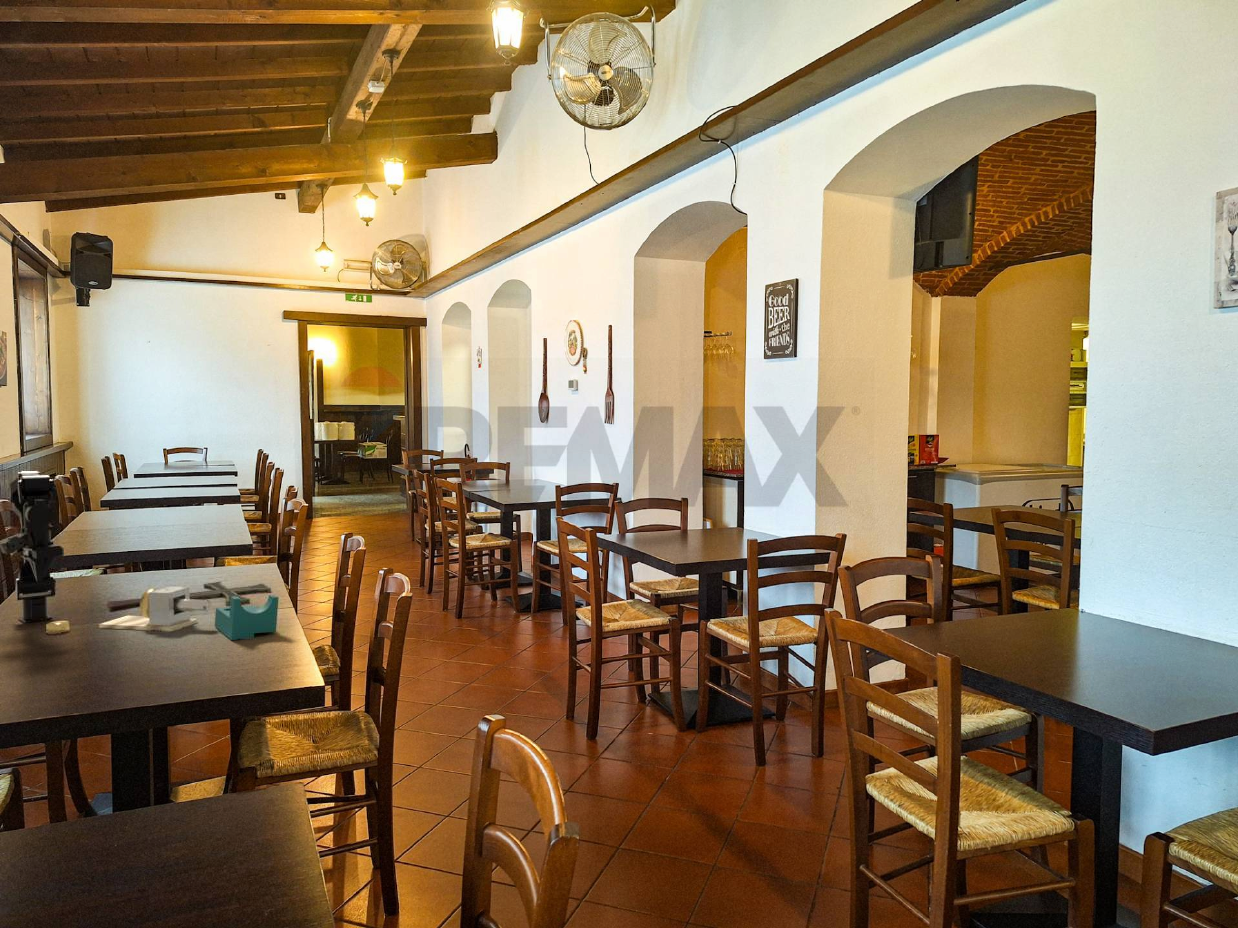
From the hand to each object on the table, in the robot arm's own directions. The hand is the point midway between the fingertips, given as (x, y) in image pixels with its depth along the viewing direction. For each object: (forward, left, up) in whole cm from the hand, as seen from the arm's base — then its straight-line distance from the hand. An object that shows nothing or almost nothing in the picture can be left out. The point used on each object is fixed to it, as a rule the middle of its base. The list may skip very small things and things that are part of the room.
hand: (39, 581), depth 223 cm
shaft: (+26, +24, -11) cm, 37 cm away
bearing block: (+23, +23, -12) cm, 35 cm away
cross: (-7, +43, -14) cm, 46 cm away
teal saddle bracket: (+44, +33, -13) cm, 57 cm away
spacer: (+6, +2, -13) cm, 15 cm away
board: (+18, +20, -13) cm, 30 cm away
